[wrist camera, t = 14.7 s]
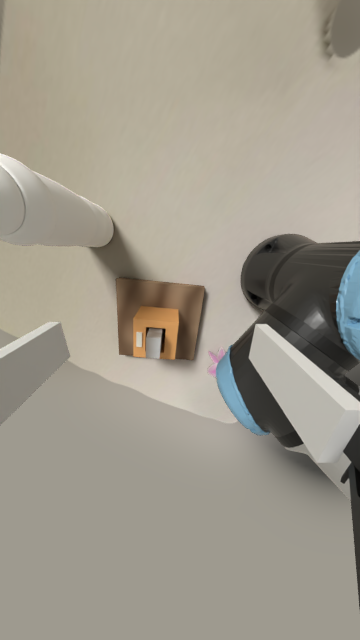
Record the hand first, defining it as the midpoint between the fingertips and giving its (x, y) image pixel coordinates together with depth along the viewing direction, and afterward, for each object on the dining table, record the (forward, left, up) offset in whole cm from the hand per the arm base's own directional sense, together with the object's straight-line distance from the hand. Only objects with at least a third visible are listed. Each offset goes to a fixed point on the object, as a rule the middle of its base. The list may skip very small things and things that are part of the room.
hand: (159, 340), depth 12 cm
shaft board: (+2, +10, -26) cm, 28 cm away
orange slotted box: (+2, +10, -24) cm, 26 cm away
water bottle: (+15, -8, -26) cm, 31 cm away
